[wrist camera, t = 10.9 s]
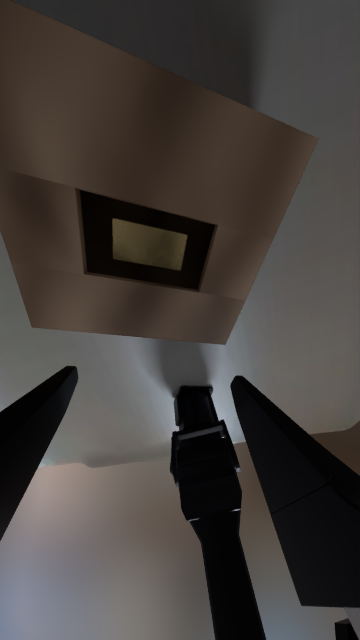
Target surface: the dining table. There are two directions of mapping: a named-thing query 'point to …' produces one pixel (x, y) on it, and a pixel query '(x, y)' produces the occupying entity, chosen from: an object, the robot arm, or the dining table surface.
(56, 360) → the dining table surface
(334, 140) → the dining table surface
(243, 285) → the walnut box
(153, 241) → the yellow square block
